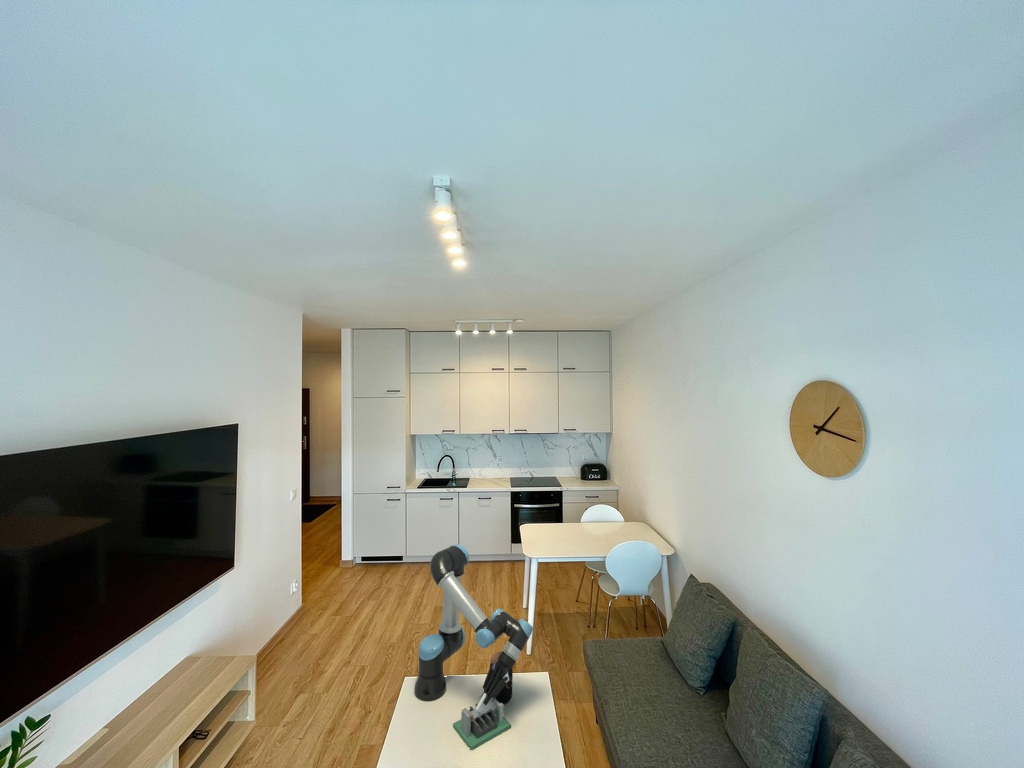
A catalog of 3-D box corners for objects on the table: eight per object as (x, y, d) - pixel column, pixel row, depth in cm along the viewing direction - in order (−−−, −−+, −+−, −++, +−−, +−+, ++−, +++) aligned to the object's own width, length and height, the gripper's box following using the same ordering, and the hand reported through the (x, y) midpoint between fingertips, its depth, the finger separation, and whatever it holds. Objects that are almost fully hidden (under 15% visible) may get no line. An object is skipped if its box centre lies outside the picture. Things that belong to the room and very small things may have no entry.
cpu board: (452, 727, 176) (453, 704, 177) (491, 707, 188) (492, 685, 189) (470, 750, 164) (471, 726, 165) (511, 728, 176) (511, 705, 176)
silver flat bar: (466, 716, 174) (466, 711, 174) (495, 701, 183) (495, 695, 183) (471, 722, 171) (471, 716, 171) (500, 706, 180) (500, 701, 180)
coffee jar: (509, 707, 188) (510, 667, 189) (487, 703, 190) (487, 663, 191) (514, 691, 198) (514, 653, 199) (492, 688, 200) (493, 650, 201)
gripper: (523, 666, 181) (492, 723, 170) (505, 652, 192) (475, 705, 181) (513, 658, 179) (481, 716, 168) (496, 645, 189) (465, 698, 178)
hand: (478, 710), depth 174 cm, fingers closed
